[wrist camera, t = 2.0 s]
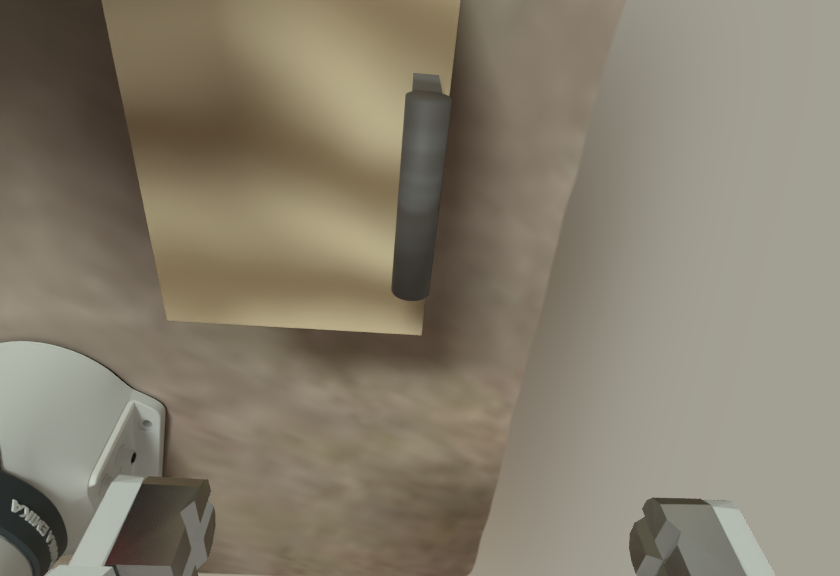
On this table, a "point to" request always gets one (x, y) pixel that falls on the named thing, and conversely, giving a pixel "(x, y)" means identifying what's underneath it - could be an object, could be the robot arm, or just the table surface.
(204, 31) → the carton lid
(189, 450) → the table surface
